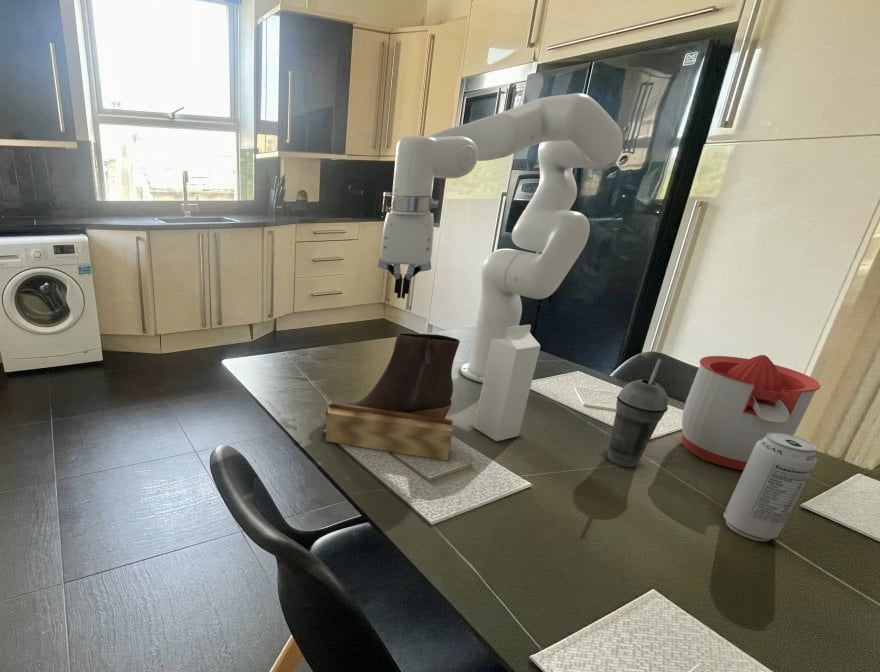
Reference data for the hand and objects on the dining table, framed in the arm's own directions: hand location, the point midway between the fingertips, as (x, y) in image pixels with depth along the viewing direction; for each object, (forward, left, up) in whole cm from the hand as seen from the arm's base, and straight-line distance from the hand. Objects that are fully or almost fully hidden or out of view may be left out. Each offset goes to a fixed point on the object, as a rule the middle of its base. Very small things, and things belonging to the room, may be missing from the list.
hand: (401, 296), depth 102 cm
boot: (0, +16, -23) cm, 28 cm away
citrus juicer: (-62, +8, -23) cm, 66 cm away
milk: (-22, +11, -23) cm, 34 cm away
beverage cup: (-43, +15, -23) cm, 51 cm away
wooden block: (-1, +23, -23) cm, 33 cm away
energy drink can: (-54, +31, -23) cm, 66 cm away
